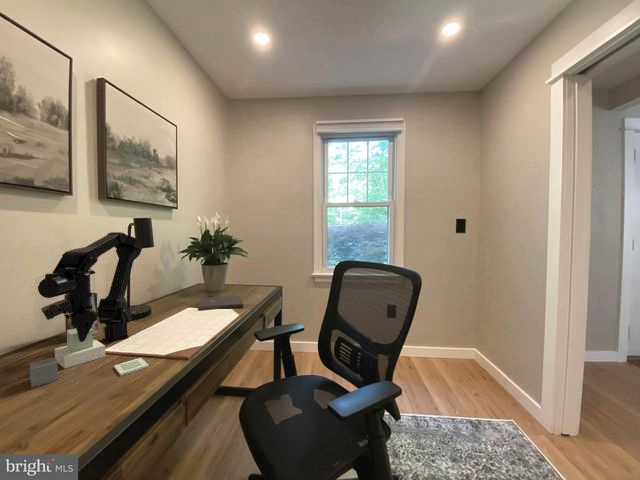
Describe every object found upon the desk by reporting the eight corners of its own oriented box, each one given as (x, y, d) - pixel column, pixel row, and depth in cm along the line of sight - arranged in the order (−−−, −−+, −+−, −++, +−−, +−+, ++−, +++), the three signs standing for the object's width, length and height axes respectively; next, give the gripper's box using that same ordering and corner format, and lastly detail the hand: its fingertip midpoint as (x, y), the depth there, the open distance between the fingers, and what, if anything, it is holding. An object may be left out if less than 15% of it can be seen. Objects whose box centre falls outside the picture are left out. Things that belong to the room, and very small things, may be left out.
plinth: (94, 350, 96) (93, 338, 96) (105, 357, 91) (105, 345, 90) (55, 361, 88) (54, 348, 88) (64, 370, 82) (64, 356, 82)
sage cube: (89, 341, 93) (89, 325, 93) (93, 346, 89) (92, 329, 89) (67, 347, 89) (66, 330, 89) (70, 352, 85) (69, 334, 85)
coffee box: (98, 333, 110) (98, 292, 110) (80, 339, 104) (79, 296, 104) (83, 330, 113) (82, 291, 113) (64, 336, 107) (63, 294, 107)
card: (140, 359, 88) (140, 357, 88) (148, 366, 84) (148, 364, 84) (114, 367, 83) (114, 365, 83) (120, 375, 79) (120, 373, 79)
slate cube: (55, 374, 79) (55, 356, 79) (57, 380, 76) (57, 362, 76) (30, 381, 76) (29, 363, 76) (31, 388, 72) (31, 369, 72)
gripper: (40, 290, 89) (41, 338, 89) (46, 300, 76) (48, 356, 77) (85, 284, 97) (86, 329, 98) (97, 293, 85) (98, 343, 85)
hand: (80, 338), depth 89 cm, fingers open, 6 cm apart
